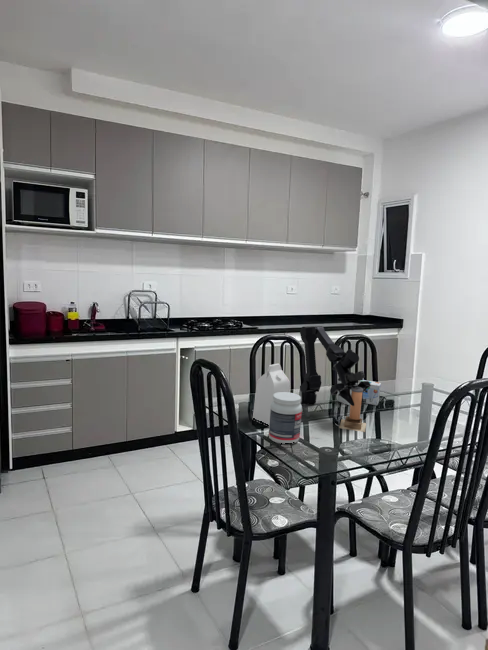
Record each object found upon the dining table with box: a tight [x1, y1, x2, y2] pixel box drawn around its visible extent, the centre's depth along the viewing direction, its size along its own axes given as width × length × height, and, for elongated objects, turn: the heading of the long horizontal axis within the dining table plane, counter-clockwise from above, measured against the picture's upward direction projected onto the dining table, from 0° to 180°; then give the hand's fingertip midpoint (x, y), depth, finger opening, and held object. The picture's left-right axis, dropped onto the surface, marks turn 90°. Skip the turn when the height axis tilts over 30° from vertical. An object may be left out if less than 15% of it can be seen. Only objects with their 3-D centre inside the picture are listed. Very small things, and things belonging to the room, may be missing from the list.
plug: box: [348, 387, 363, 420], centre depth 201 cm, size 5×5×14 cm
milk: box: [252, 363, 291, 425], centre depth 206 cm, size 12×12×26 cm
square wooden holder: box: [338, 415, 367, 433], centre depth 203 cm, size 11×11×4 cm
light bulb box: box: [358, 379, 382, 406], centre depth 241 cm, size 11×7×11 cm, turn 68°
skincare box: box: [336, 377, 358, 406], centre depth 238 cm, size 8×6×15 cm
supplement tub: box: [268, 391, 303, 445], centre depth 186 cm, size 13×13×18 cm
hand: (357, 405), depth 200 cm, fingers closed on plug, 4 cm apart
